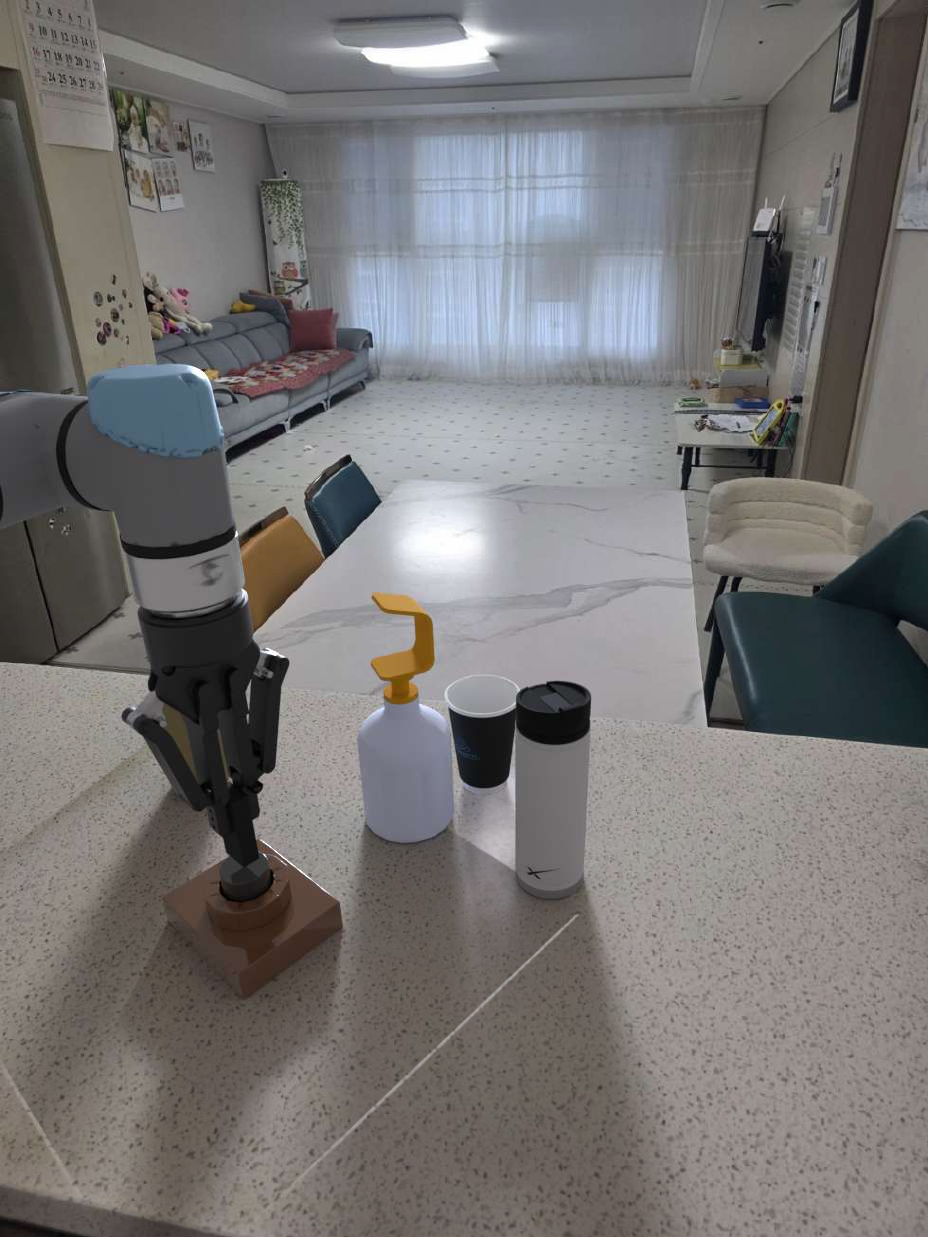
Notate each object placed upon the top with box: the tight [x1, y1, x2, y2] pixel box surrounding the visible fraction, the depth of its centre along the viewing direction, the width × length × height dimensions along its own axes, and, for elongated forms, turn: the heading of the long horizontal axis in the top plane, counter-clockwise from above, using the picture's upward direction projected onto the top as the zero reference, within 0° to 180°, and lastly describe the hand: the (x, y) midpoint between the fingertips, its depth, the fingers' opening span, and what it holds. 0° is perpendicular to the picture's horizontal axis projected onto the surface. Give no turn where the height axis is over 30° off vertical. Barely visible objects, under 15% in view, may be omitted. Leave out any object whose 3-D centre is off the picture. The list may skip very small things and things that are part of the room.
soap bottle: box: [356, 592, 455, 844], centre depth 79 cm, size 9×9×25 cm
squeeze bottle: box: [163, 704, 230, 782], centre depth 87 cm, size 8×8×18 cm
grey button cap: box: [219, 852, 271, 902], centre depth 69 cm, size 4×4×2 cm
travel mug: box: [514, 680, 592, 900], centre depth 71 cm, size 6×7×20 cm
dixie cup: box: [443, 674, 521, 796], centre depth 86 cm, size 8×8×11 cm
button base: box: [161, 838, 344, 1001], centre depth 71 cm, size 12×10×5 cm
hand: (242, 855), depth 68 cm, fingers closed
